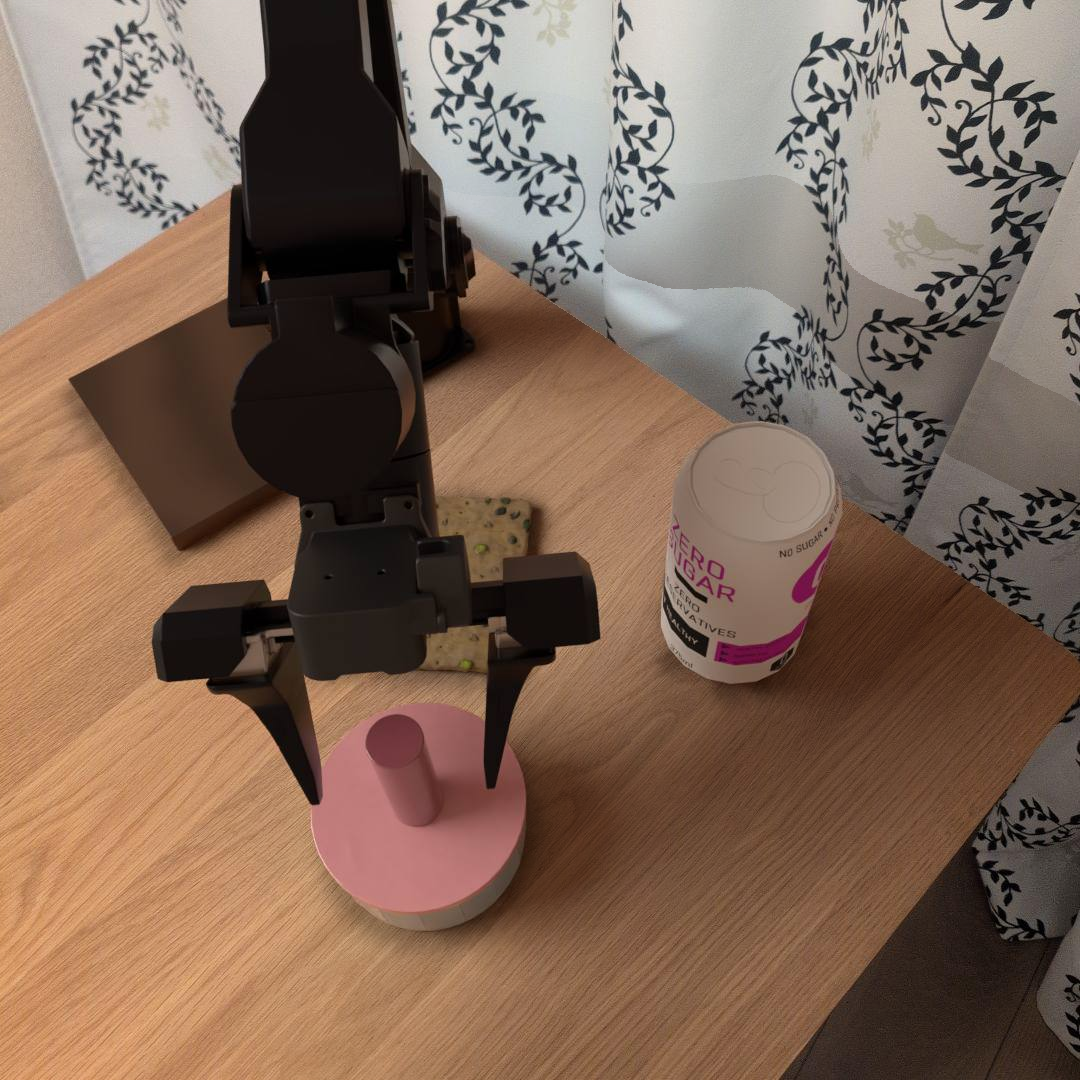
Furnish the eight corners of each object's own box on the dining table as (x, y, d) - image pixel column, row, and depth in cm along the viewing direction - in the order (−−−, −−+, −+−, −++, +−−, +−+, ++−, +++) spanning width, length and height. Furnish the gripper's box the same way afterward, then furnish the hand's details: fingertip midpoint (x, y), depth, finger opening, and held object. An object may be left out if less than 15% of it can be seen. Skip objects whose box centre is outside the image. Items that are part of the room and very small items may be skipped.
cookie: (345, 494, 74) (342, 486, 73) (534, 503, 73) (533, 495, 72) (310, 664, 67) (306, 657, 66) (516, 676, 66) (515, 669, 65)
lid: (451, 674, 62) (431, 590, 55) (569, 831, 58) (565, 765, 50) (277, 788, 59) (228, 717, 52) (386, 964, 55) (351, 916, 47)
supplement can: (818, 593, 69) (869, 442, 56) (773, 710, 65) (816, 577, 52) (690, 546, 71) (711, 391, 58) (638, 658, 67) (649, 517, 54)
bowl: (457, 710, 65) (448, 676, 62) (563, 853, 61) (561, 826, 57) (301, 814, 63) (282, 785, 59) (400, 972, 58) (386, 952, 54)
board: (242, 306, 83) (237, 291, 81) (356, 449, 76) (352, 435, 74) (75, 392, 79) (67, 378, 78) (178, 551, 72) (171, 538, 71)
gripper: (74, 513, 41) (145, 907, 44) (596, 466, 41) (625, 863, 45) (165, 463, 52) (216, 783, 55) (577, 427, 52) (602, 748, 56)
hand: (404, 793), depth 52 cm, fingers open, 8 cm apart
